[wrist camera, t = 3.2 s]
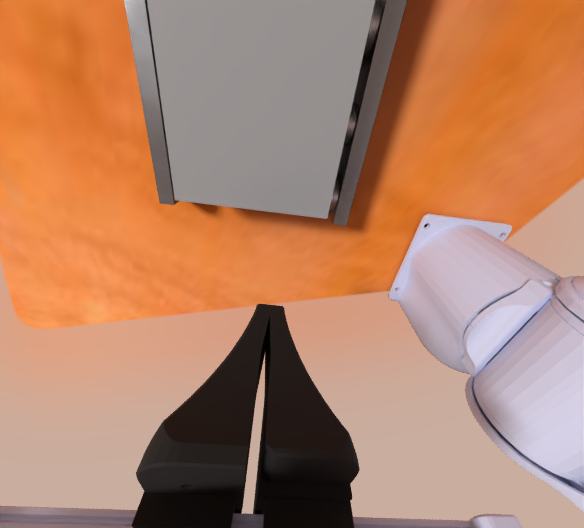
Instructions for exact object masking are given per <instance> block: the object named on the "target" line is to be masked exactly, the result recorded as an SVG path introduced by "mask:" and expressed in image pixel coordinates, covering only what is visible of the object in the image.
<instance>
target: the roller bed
mask: <svg viewBox="0 0 584 528" xmlns="http://www.w3.org/2000/svg"><path fill="white" fill-rule="evenodd" d="M124 2H125V8H126V14H127V19H128V25H129V31H130V36H131V42H132V48H133V53H134V59H135V65H136V70H137V76H138V82H139V88H140V93H141V99H142V105H143V110H144V116H145V122H146V127H147V133H148V139H149V144H150V150H151V156H152V162H153V167H154V173H155V179H156V184H157V190H158V196H159V201H160V203H162V204H170V205H175V204H176V203H177V202H179V201H178V200H175V197H174V190H173V183H172V175H171V168H170V161H169V154H168V147H167V140H166V132H165V125H164V118H163V111H162V104H161V97H160V89H159V82H158V75H157V68H156V61H155V54H154V46H153V39H152V32H151V25H150V18H149V11H148V3H147V0H124ZM406 3H407V0H375V4H374V8H373V13H372V18H371V22H370V27H369V31H368V36H367V40H366V45H365V49H364V54H363V58H362V63H361V67H360V72H359V77H358V81H357V86H356V90H355V95H354V99H353V104H352V108H351V113H350V117H349V122H348V127H347V131H346V136H345V140H344V145H343V149H342V154H341V158H340V163H339V167H338V172H337V177H336V181H335V186H334V190H333V195H332V199H331V204H330V208H329V214H330V217H331V220H332V222H333V224H334V225H342V226H346V225H347V221H348V217H349V213H350V210H351V206H352V202H353V199H354V195H355V191H356V188H357V184H358V180H359V176H360V173H361V169H362V165H363V162H364V158H365V154H366V151H367V147H368V143H369V139H370V136H371V132H372V128H373V125H374V121H375V117H376V114H377V110H378V106H379V102H380V99H381V95H382V91H383V88H384V84H385V80H386V77H387V73H388V69H389V65H390V62H391V58H392V54H393V51H394V47H395V43H396V40H397V36H398V32H399V28H400V25H401V21H402V17H403V14H404V10H405V6H406Z"/></svg>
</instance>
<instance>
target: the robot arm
mask: <svg viewBox="0 0 584 528" xmlns="http://www.w3.org/2000/svg"><path fill="white" fill-rule="evenodd" d="M427 223H428V225H427V226H426V227H424V225H425V224H427ZM511 230H512V226H511V225H509V224H506V223H498V222H490V221H482V220H474V219H467V218H459V217H451V216H443V215H436V214H427V215H425V216H424V217H423V218H422V220H421V222H420V225H419V227H418V229H417V231H416V233H415V236H414V238H413V240H412V242H411V245H410V247H409V249H408V251H407V254H406V256H405V258H404V260H403V262H402V265H401V267H400V269H399V271H398V274H397V276H396V278H395V280H394V283H393V285H392V287H391V289H390V291H389V294H388V297H389V299H391V300H394V301H398V302H399V304H400V306H401V307H402V309H403V311H404V313H405V314H406V316H407V318H408V320H409V321H410V323H411V325H412V327H413V329H414V330H415V332H416V334H417V336H418V337H419V339H420V341H421V343H422V344H423V345H424V347H425V348H426V349H427V350H428V351H429V352H430V353H431V354H432V355H433V356H434V357H436V359H438V360H439V361H440V362H442V363H443V364H445V365H447V366H448V367H450V368H453V369H455V370H457V371H460V372H463V373H467V374H470V375H471V377H470V378H469V379H468V381H467V383H466V388H465V392H466V398H467V402H468V405H469V406H470V409H471V411H472V413H473V415H474V417H475V418H476V420H477V422H478V423H479V425H480V426H481V427H482V428H483V430H484V431H485V433H486V434H487V435H488V436H489V437H490V439H491V440H492V441H493V442H494V443H495V444H496V445H497V446H498V447H499V448H500V449H501V450H502V451H503V452H504V453H505V454H506V455H508V456H509V457H510V458H511V459H512V460H513V461H515V462H516V463H517V464H519V465H520V466H521V467H523V468H524V469H525V470H527V471H528V472H530V473H531V474H533V475H535V476H536V477H538V478H539V479H541V480H543V481H544V482H546V483H547V484H549V485H551V486H552V487H553V488H555V489H556V490H557V491H559V492H560V493H561V494H563V495H564V496H565V497H566V498H568V499H569V500H570V501H571V502H572V503H574V504H575V505H576V506H577V507H578V508H579V509H580V510H581V511H582V512H583V513H584V276H582V277H580V276H573V277H567V278H564V279H563V278H562V277H560V276H558V275H557V274H555V273H554V272H552V271H550V270H549V269H547V268H545V267H544V266H542V265H540V264H539V263H537V262H535V261H534V260H532V259H530V258H529V257H527V256H525V255H524V254H522V253H520V252H519V251H517V250H515V249H514V248H512V247H510V246H509V245H507V244H505V243H504V240H505V239H506V238H507V236H508V235H509V233H510V232H511ZM501 234H502V235H501ZM500 235H501V236H500ZM396 288H397V289H396ZM264 355H265V398H264V410H263V421H262V431H261V441H260V452H259V461H258V471H257V481H256V490H255V500H254V510H253V514H241V512H242V507H243V499H244V490H245V482H246V473H247V465H248V457H249V448H250V441H251V431H252V424H253V416H254V408H255V400H256V394H257V389H258V384H259V379H260V374H261V369H262V364H263V359H264ZM358 472H359V464H358V459H357V455H356V452H355V449H354V446H353V443H352V440H351V437H350V435H349V433H348V431H347V430H346V429H345V428H344V426H343V425H342V424H341V422H340V421H339V420H338V419H337V418H336V416H335V415H334V413H333V412H332V411H331V409H330V408H329V406H328V405H327V403H326V402H325V401H324V399H323V397H322V396H321V394H320V393H319V391H318V389H317V388H316V386H315V385H314V383H313V381H312V380H311V378H310V376H309V374H308V373H307V371H306V369H305V367H304V365H303V363H302V361H301V359H300V356H299V354H298V352H297V350H296V347H295V345H294V342H293V340H292V337H291V334H290V331H289V328H288V325H287V321H286V317H285V312H284V307H283V306H276V305H266V304H258V305H257V307H256V310H255V312H254V314H253V317H252V318H251V320H250V322H249V324H248V326H247V328H246V329H245V331H244V333H243V334H242V336H241V337H240V339H239V340H238V342H237V343H236V345H235V346H234V348H233V349H232V351H231V352H230V353H229V355H228V356H227V357H226V359H225V360H224V361H223V362H222V363H221V365H220V366H219V367H218V368H217V369H216V370H215V372H214V373H213V374H212V375H211V376H210V377H209V378H208V379H207V381H206V382H205V383H204V384H203V385H202V386H201V387H200V388H199V389H198V390H197V391H196V392H195V393H194V394H193V395H192V396H191V397H190V398H189V399H188V400H187V401H185V402H184V403H183V404H182V405H181V406H180V407H179V408H178V409H177V410H175V411H174V412H173V413H172V414H171V415H170V416H169V417H168V418H166V419H165V420H164V421H163V423H162V424H161V425H160V427H159V428H158V430H157V432H156V433H155V435H154V436H153V438H152V440H151V442H150V444H149V445H148V447H147V449H146V451H145V453H144V456H143V458H142V460H141V463H140V465H139V467H138V470H137V472H136V475H137V478H138V481H139V483H140V484H141V486H142V488H143V489H144V494H143V497H142V499H141V502H140V504H139V507H138V510H110V509H79V508H48V507H15V506H0V528H522V526H521V525H520V523H519V521H518V519H517V518H516V517H515V516H514V515H498V514H497V515H496V514H483V515H478V516H475V517H473V518H471V519H470V521H457V520H426V519H393V518H364V517H353V516H352V510H351V503H350V500H352V492H351V487H350V483H351V482H352V481H353V480H354V478H355V477H356V476H357V474H358Z"/></svg>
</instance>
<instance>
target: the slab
mask: <svg viewBox="0 0 584 528" xmlns="http://www.w3.org/2000/svg"><path fill="white" fill-rule="evenodd" d="M147 3H148V11H149V18H150V25H151V32H152V39H153V46H154V54H155V61H156V68H157V75H158V82H159V89H160V97H161V104H162V111H163V118H164V125H165V132H166V140H167V147H168V154H169V161H170V168H171V175H172V183H173V190H174V197H175V200H178V201H186V202H194V203H202V204H210V205H218V206H226V207H234V208H243V209H251V210H259V211H267V212H275V213H283V214H291V215H299V216H307V217H316V218H324V219H327V217H328V213H329V208H330V204H331V199H332V195H333V190H334V186H335V181H336V177H337V172H338V167H339V163H340V158H341V154H342V149H343V145H344V140H345V136H346V131H347V127H348V122H349V117H350V113H351V108H352V104H353V99H354V95H355V90H356V86H357V81H358V77H359V72H360V67H361V63H362V58H363V54H364V49H365V45H366V40H367V36H368V31H369V27H370V22H371V18H372V13H373V8H374V4H375V0H147Z"/></svg>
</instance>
